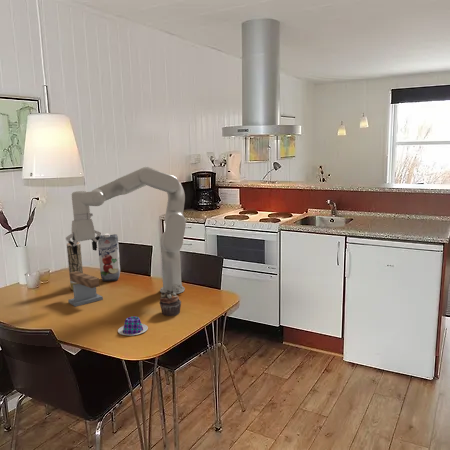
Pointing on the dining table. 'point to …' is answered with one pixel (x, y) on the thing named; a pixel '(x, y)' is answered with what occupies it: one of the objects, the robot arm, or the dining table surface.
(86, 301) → the ridge
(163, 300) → the cupcake
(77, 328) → the dining table surface
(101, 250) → the juice carton
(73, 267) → the paper tube
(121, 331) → the pudding
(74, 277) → the rod
